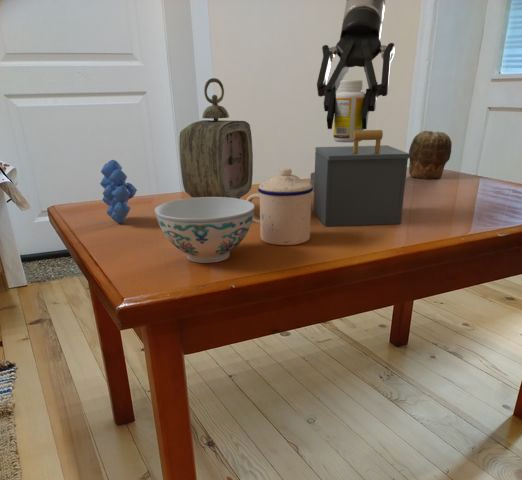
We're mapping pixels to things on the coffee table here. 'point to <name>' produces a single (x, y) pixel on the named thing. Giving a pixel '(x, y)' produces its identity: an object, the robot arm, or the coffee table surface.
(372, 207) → the chest
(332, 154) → the chest lid
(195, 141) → the tabletop clock
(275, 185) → the teacup with lid
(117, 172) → the grapes
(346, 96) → the supplement bottle
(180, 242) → the chinaware
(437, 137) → the brown rounded lump
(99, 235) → the coffee table surface
